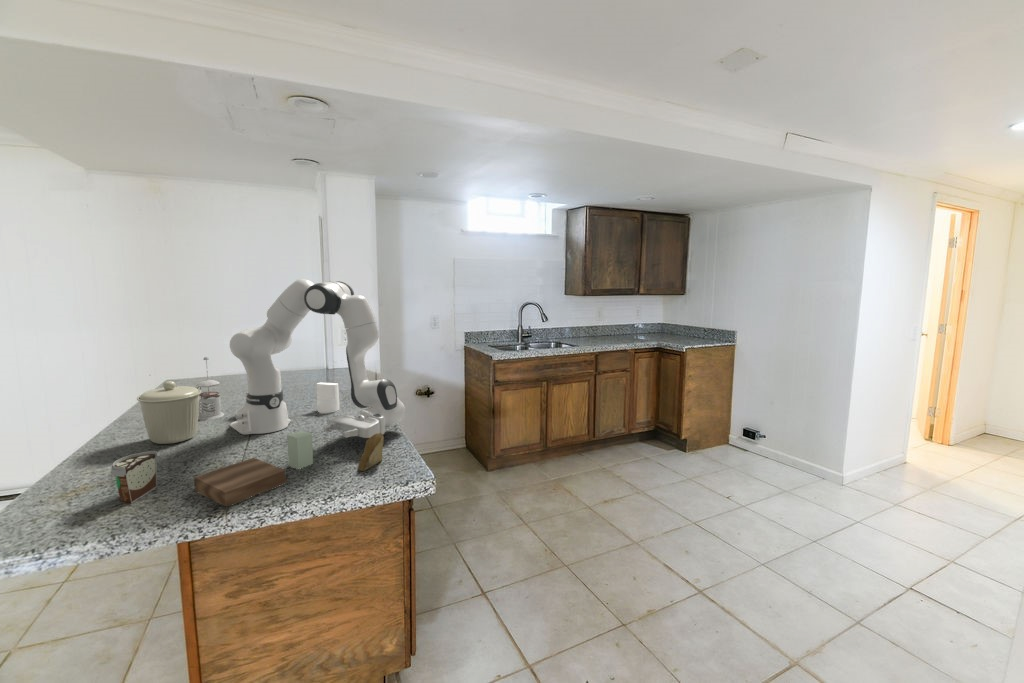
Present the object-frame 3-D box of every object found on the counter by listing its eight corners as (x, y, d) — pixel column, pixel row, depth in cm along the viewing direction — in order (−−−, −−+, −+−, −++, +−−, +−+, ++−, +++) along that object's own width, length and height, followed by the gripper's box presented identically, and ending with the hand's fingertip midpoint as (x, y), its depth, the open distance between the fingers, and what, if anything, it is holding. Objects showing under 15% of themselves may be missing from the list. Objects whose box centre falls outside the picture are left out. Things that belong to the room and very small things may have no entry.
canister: (169, 430, 169) (164, 375, 166) (216, 431, 168) (212, 376, 165) (126, 447, 151) (120, 386, 148) (179, 449, 150) (174, 388, 148)
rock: (364, 468, 133) (393, 455, 140) (352, 443, 135) (381, 430, 142) (353, 479, 140) (381, 466, 147) (342, 454, 142) (370, 442, 149)
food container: (137, 484, 125) (133, 450, 123) (160, 484, 125) (157, 450, 124) (100, 507, 113) (96, 469, 111) (127, 506, 113) (123, 468, 112)
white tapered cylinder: (313, 412, 194) (311, 385, 192) (324, 406, 203) (323, 380, 201) (332, 414, 192) (331, 386, 191) (343, 408, 201) (342, 382, 199)
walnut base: (195, 491, 122) (193, 477, 121) (254, 470, 135) (253, 457, 135) (226, 507, 114) (225, 492, 113) (285, 483, 127) (285, 470, 127)
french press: (214, 420, 181) (209, 359, 178) (185, 419, 182) (180, 358, 178) (229, 412, 191) (225, 355, 188) (202, 412, 191) (198, 354, 188)
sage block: (288, 466, 139) (287, 435, 138) (303, 460, 143) (301, 430, 142) (298, 469, 136) (296, 438, 135) (313, 464, 141) (311, 433, 139)
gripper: (347, 408, 166) (314, 418, 154) (387, 417, 155) (354, 428, 143) (348, 425, 167) (315, 435, 155) (387, 434, 156) (355, 447, 144)
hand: (334, 432), depth 149 cm, fingers open, 8 cm apart
